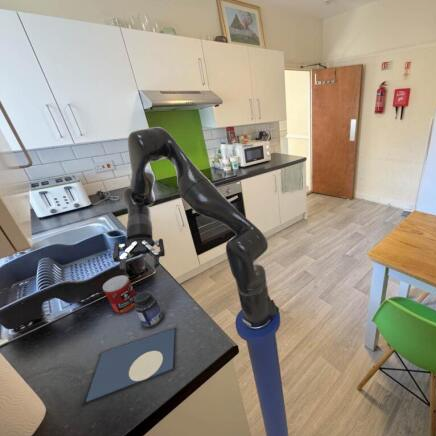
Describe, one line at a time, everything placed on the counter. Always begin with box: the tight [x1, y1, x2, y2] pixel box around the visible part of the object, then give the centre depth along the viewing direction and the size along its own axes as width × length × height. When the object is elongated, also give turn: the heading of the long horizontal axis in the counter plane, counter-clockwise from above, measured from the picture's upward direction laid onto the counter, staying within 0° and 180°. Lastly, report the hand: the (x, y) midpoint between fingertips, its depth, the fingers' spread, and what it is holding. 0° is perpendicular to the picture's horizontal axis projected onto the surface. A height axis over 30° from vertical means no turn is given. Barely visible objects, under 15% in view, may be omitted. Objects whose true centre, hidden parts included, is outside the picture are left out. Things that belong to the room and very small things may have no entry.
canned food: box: [102, 274, 137, 314], centre depth 85 cm, size 8×8×11 cm
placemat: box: [85, 328, 176, 403], centre depth 68 cm, size 20×14×1 cm
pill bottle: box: [134, 290, 164, 328], centre depth 78 cm, size 6×6×11 cm
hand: (140, 268), depth 75 cm, fingers open, 8 cm apart
